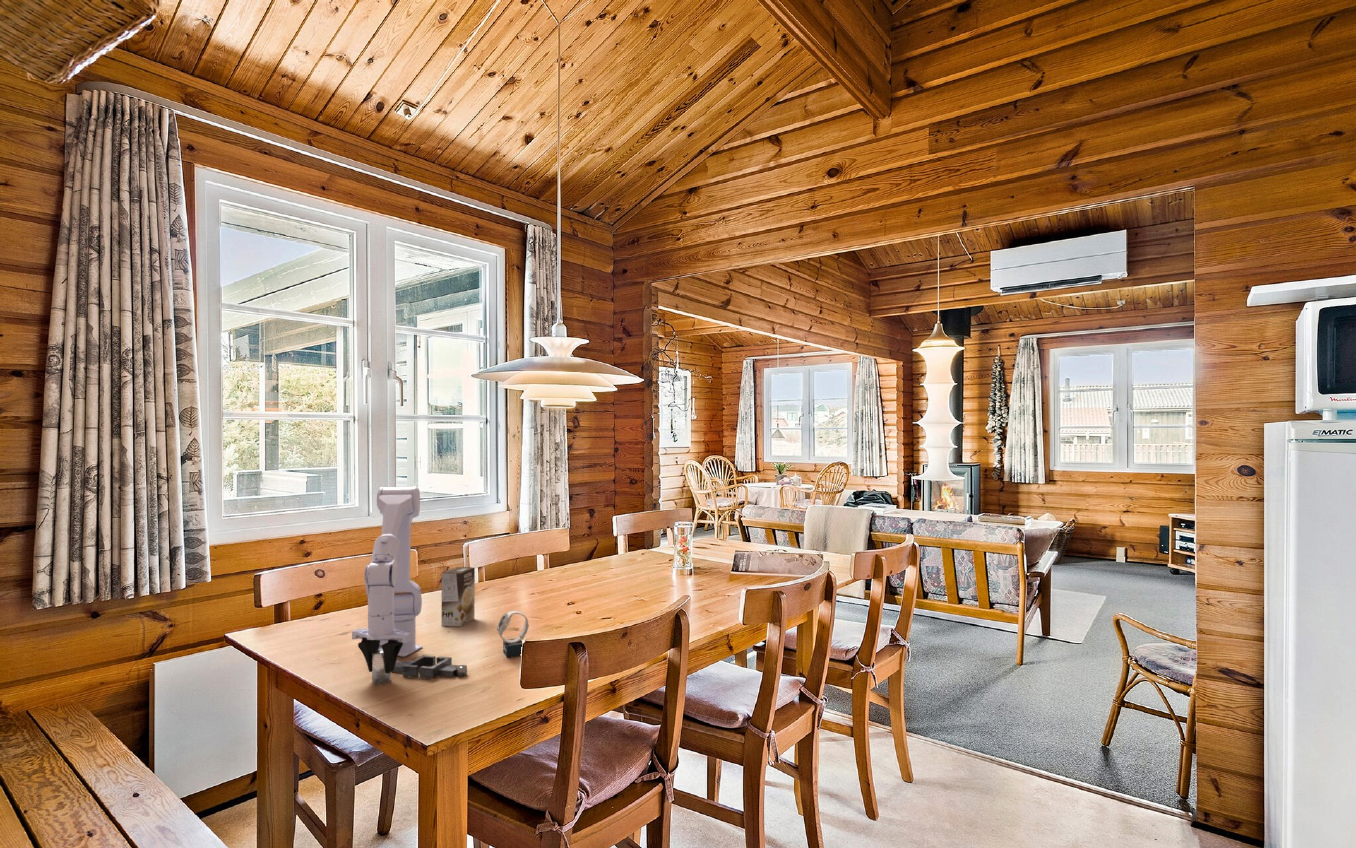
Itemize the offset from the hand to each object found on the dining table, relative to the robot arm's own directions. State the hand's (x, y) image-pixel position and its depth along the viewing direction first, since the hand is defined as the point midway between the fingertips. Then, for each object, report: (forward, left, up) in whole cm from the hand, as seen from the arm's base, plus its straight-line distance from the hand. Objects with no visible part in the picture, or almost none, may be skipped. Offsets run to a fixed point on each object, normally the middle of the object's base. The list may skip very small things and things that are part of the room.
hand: (381, 671), depth 162 cm
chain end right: (+12, +8, -2) cm, 15 cm away
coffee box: (-9, +48, -3) cm, 49 cm away
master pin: (0, 0, -2) cm, 2 cm away
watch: (+21, +25, -3) cm, 33 cm away
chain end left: (+2, +8, -2) cm, 8 cm away
